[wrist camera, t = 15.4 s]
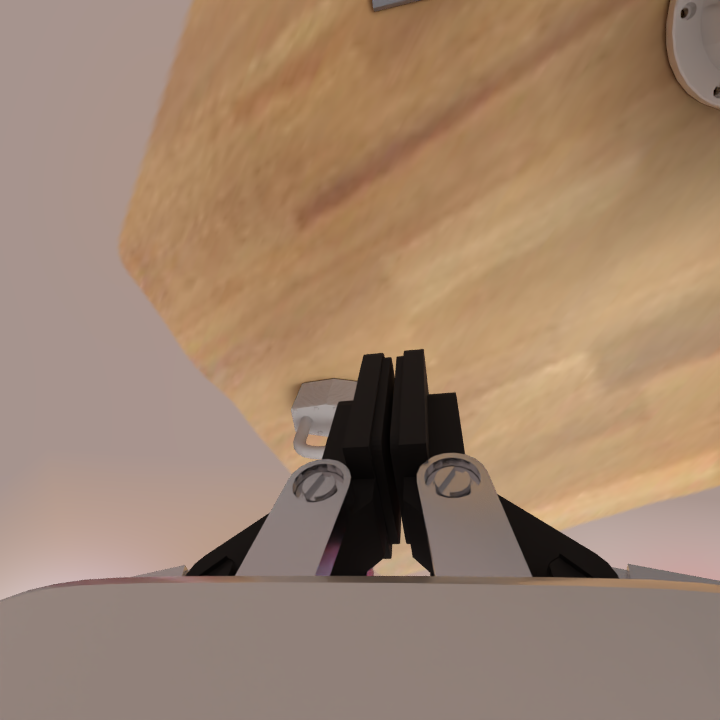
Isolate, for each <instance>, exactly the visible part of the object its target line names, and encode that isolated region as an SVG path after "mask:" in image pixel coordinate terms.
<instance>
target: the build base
mask: <svg viewBox="0 0 720 720" xmlns="http://www.w3.org/2000/svg"><path fill="white" fill-rule="evenodd" d="M415 1H419V0H372V3H373V9H374V12H375V11H379V10H383V9H387V8H391V7H395V6H399V5H403V4H407V3H411V2H415Z"/></svg>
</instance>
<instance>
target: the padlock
mask: <svg viewBox="0 0 720 720" xmlns="http://www.w3.org/2000/svg"><path fill="white" fill-rule="evenodd" d="M356 386H357V381H349V380H341V379H328V380H322V381H315V382H309V383H303V384H302V386H301V388H300V390H299V392H298V395H297V397H296V399H295V401H294V404H293V406H292V408H291V412H292V417H293V422H294V427H295V431H296V435H295V437H294V442H293V444H294V449H295V450H296V452H297V453H298V454H299V455H301V456H303V457H306V458H311V459H322V457H323V453H324V450H325V446H310V445H307V444H306V439H307V436H308V434H312V435H320V436H327V437H328V435H329V432H330V428H331V425H332V421H333V418H334V414H335V411H336V407H337V404H338V402H340V401H350V400H353V399H354V394H355V390H356Z"/></svg>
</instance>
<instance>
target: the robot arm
mask: <svg viewBox="0 0 720 720" xmlns="http://www.w3.org/2000/svg"><path fill="white" fill-rule="evenodd" d="M681 10H684V12H685V14H684V17H683V18H681ZM666 47H667V52H668V57H669V63H670V66H671V68H672V70H673V72H674V75H675V77H676V79H677V81H678V82H679V83H680V85H681V86H682V87H683V88H684V90H685V91H686V92H687V93H688V94H689V95H691V96H692V97H693V98H695V99H696V100H698V101H699V102H700V103H703V104H705V105H708V106H711V107H713V108H716V109H720V0H670V5H669V11H668V16H667V22H666ZM715 88H716V93H715V94H714V95H713V91H714V89H715ZM401 517H402V523H403V528H404V534H405V540H406V543H407V544H411V549H412V555H413V558H414V559H416V560H417V561H418V562H419V563H420V564H421V565H422V566H423V567H425V568H426V569H427V570H428V571H429V572H430V576H374V571H373V567H374V566H375V565H376V564H377V563H378V562H380V561H381V560H382V559H391V556H392V544H400V534H401ZM0 720H720V581H718V580H712V579H707V578H701V577H696V576H690V575H685V574H679V573H674V572H669V571H663V570H658V569H652V568H647V567H641V566H636V565H631V564H628V566H627V570H624V569H618V568H613V567H611V566H610V565H609V564H608V563H607V562H606V561H605V560H603V559H602V558H601V557H599V556H598V555H597V554H595V553H594V552H592V551H591V550H589V549H587V548H586V547H584V546H582V545H580V544H579V543H577V542H576V541H574V540H572V539H571V538H569V537H567V536H566V535H564V534H563V533H561V532H559V531H558V530H556V529H554V528H553V527H551V526H549V525H548V524H546V523H544V522H543V521H541V520H539V519H538V518H536V517H534V516H533V515H531V514H529V513H528V512H526V511H524V510H523V509H521V508H519V507H518V506H516V505H515V504H513V503H511V502H510V501H508V500H506V499H505V498H503V497H501V496H500V495H498V494H497V493H496V490H495V488H494V486H493V483H492V481H491V479H490V476H489V474H488V472H487V470H486V469H485V467H484V466H483V464H482V463H480V462H479V461H478V460H476V459H475V458H473V457H470V456H468V455H465V451H464V444H463V437H462V431H461V424H460V417H459V410H458V404H457V397H456V392H455V393H442V394H429V392H428V383H427V374H426V365H425V356H424V349H419V350H409V351H404V356H399V357H397V359H396V371H395V376H394V370H393V363H392V358H391V357H388V358H385V357H384V354H383V353H377V354H367V355H364V356H363V360H362V364H361V368H360V373H359V377H358V381H357V386H356V390H355V394H354V399H353V400H350V401H340V402H338V404H337V407H336V411H335V414H334V418H333V421H332V425H331V428H330V432H329V435H328V439H327V443H326V446H325V450H324V453H323V457H322V459H321V460H316V461H312V462H309V463H307V464H305V465H303V466H301V467H300V468H299V469H297V470H296V471H295V472H294V473H293V474H292V475H291V477H290V478H289V479H288V481H287V483H286V484H285V486H284V488H283V490H282V492H281V494H280V495H279V497H278V499H277V501H276V503H275V504H274V506H273V508H272V510H271V512H270V513H269V514H267V515H266V516H264V517H263V518H261V519H260V520H258V521H257V522H255V523H254V524H252V525H251V526H249V527H248V528H246V529H245V530H243V531H242V532H240V533H239V534H237V535H236V536H234V537H233V538H231V539H229V540H228V541H226V542H225V543H224V544H222V545H221V546H219V547H217V548H216V549H215V550H213V551H212V552H210V553H208V554H207V555H205V556H204V557H203V558H202V559H200V560H199V561H198V562H197V563H196V564H195V565H194V566H193V567H192V568H191V569H190V570H188V569H187V568H186V566H185V565H183V566H179V567H175V568H170V569H165V570H161V571H156V572H152V573H147V574H143V575H138V576H134V577H124V578H106V579H89V580H80V581H73V582H66V583H59V584H53V585H49V586H45V587H41V588H36V589H32V590H28V591H26V592H22V593H19V594H17V595H14V596H11V597H8V598H6V599H2V600H0Z"/></svg>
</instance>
